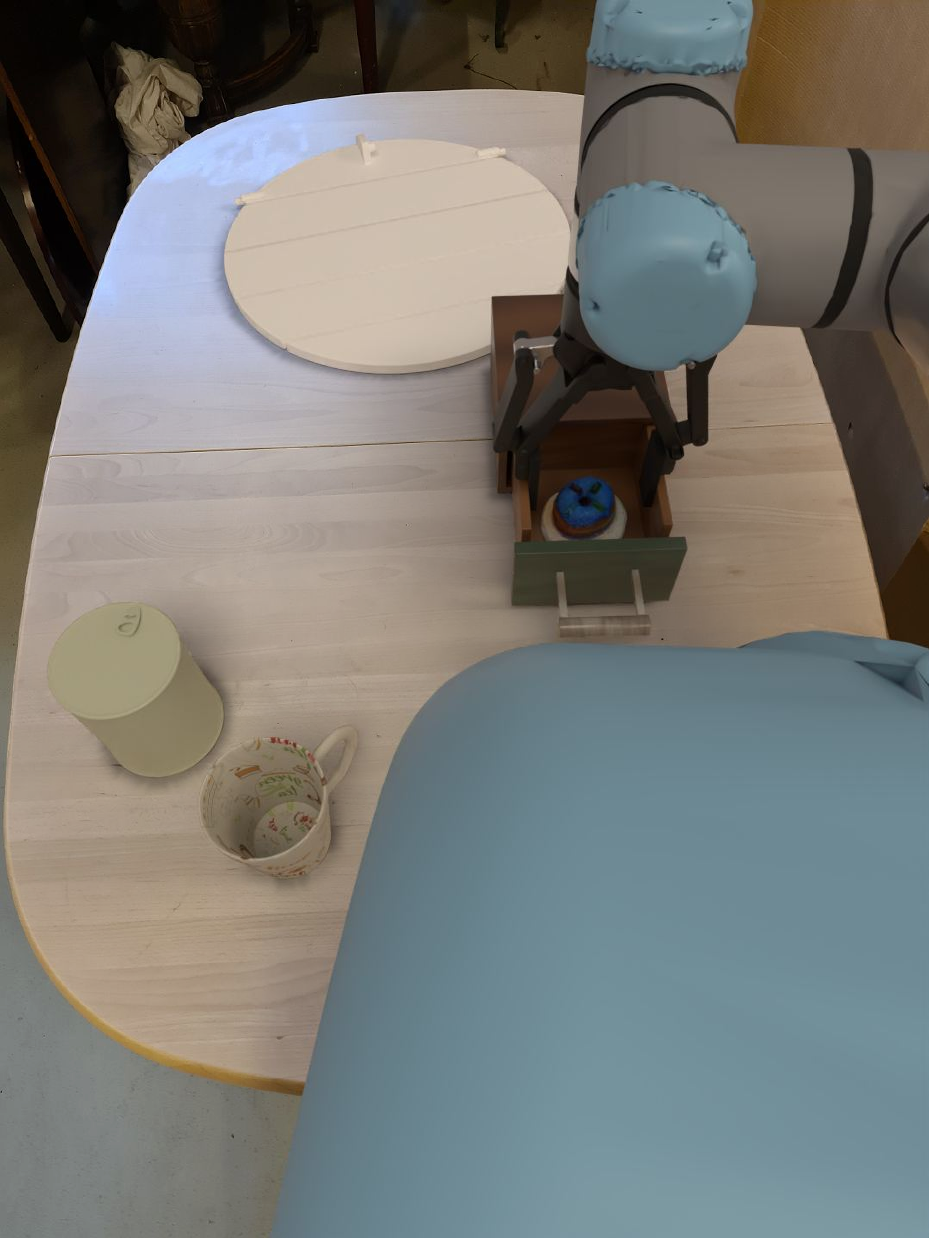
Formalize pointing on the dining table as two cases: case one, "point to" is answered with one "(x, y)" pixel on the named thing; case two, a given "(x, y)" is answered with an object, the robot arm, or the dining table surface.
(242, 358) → the dining table surface
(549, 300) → the cabinet
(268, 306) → the lazy susan
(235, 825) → the mug
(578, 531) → the dessert
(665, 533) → the drawer
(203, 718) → the can
